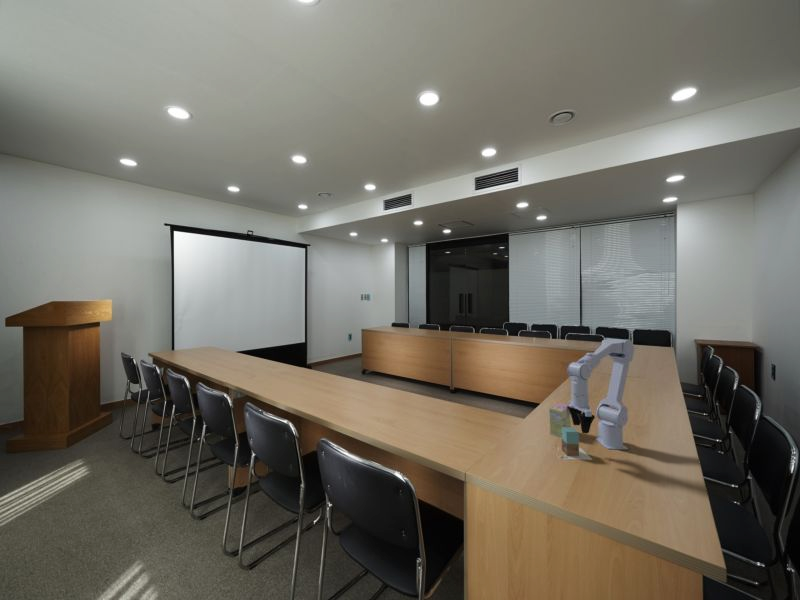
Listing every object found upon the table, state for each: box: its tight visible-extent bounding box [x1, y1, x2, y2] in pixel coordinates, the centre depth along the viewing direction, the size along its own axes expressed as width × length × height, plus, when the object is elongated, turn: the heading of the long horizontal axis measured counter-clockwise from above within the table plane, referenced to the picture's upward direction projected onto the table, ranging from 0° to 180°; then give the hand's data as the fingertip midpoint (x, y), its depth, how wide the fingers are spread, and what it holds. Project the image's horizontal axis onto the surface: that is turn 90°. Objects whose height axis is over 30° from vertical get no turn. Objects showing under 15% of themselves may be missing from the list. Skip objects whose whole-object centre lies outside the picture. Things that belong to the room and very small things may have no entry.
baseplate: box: [552, 446, 593, 461], centre depth 127 cm, size 10×12×1 cm
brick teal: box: [561, 426, 580, 445], centre depth 127 cm, size 5×5×5 cm
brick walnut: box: [561, 438, 580, 456], centre depth 127 cm, size 5×5×5 cm
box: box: [548, 403, 572, 439], centre depth 146 cm, size 10×6×12 cm, turn 134°
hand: (580, 428), depth 125 cm, fingers open, 7 cm apart
